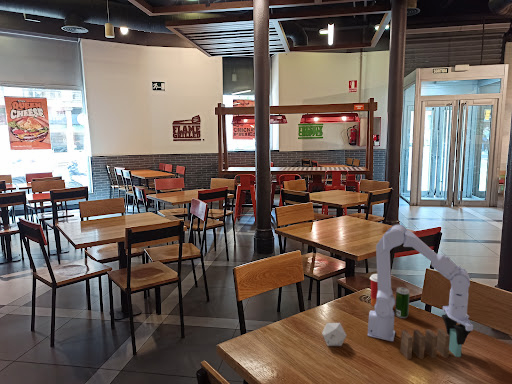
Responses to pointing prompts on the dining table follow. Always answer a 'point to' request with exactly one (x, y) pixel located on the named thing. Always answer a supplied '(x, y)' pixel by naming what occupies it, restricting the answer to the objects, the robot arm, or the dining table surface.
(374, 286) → the paper cup
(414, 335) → the domino
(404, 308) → the beer can
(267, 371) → the dining table surface
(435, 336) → the domino
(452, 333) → the domino
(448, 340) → the domino
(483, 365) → the dining table surface
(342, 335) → the die
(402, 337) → the domino
